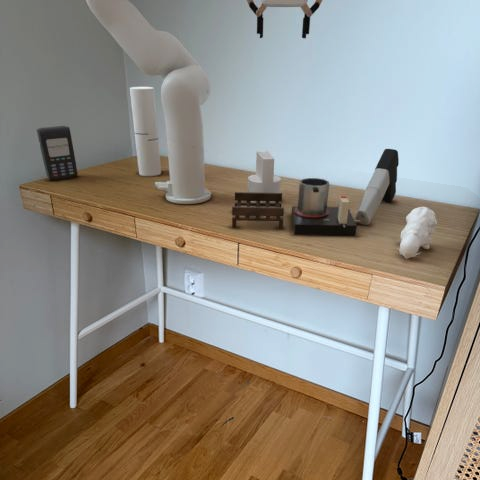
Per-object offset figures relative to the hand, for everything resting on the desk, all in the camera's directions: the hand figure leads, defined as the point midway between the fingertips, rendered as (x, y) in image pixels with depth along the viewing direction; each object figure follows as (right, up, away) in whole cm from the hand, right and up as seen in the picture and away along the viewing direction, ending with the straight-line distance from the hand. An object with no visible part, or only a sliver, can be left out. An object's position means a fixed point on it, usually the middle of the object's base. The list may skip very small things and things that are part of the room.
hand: (282, 38), depth 104 cm
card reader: (-65, -20, +40) cm, 79 cm away
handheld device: (+26, -36, +15) cm, 47 cm away
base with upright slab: (-3, -31, +23) cm, 39 cm away
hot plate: (+8, -38, +7) cm, 39 cm away
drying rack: (-5, -39, +10) cm, 41 cm away
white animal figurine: (+27, -49, -6) cm, 57 cm away
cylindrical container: (-39, -16, +46) cm, 63 cm away
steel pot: (+8, -37, +7) cm, 39 cm away
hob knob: (+14, -41, +2) cm, 43 cm away
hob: (+10, -41, +7) cm, 43 cm away
